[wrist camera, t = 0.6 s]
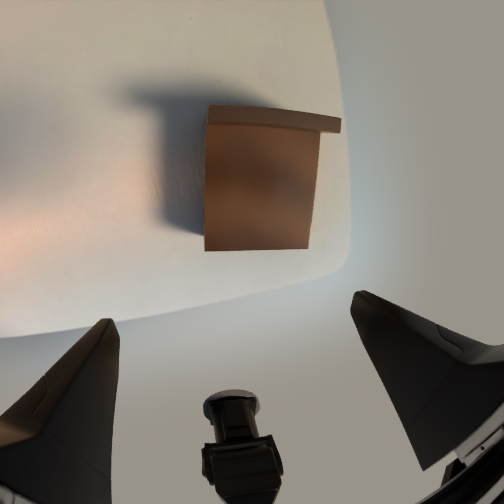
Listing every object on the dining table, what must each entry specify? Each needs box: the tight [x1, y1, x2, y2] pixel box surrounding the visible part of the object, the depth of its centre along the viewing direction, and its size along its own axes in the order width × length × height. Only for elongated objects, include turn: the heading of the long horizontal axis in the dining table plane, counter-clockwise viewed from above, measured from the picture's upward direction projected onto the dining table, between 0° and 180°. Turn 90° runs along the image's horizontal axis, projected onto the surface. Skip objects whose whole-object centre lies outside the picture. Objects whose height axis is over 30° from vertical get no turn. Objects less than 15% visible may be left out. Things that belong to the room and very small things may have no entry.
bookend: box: [204, 105, 341, 251], centre depth 19 cm, size 10×8×6 cm
